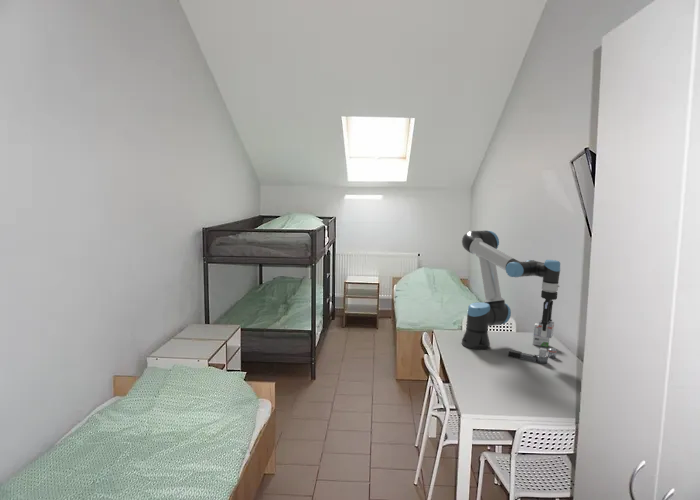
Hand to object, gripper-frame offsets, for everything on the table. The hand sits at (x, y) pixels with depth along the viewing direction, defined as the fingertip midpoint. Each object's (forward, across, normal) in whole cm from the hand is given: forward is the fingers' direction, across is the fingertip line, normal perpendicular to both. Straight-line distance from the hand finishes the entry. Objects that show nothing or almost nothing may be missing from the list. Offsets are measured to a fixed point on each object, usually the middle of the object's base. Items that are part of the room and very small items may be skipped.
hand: (544, 334), depth 264 cm
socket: (0, 0, 0) cm, 0 cm away
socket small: (+15, +12, -3) cm, 19 cm away
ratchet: (+14, 0, +7) cm, 16 cm away
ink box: (+15, +31, +6) cm, 35 cm away
